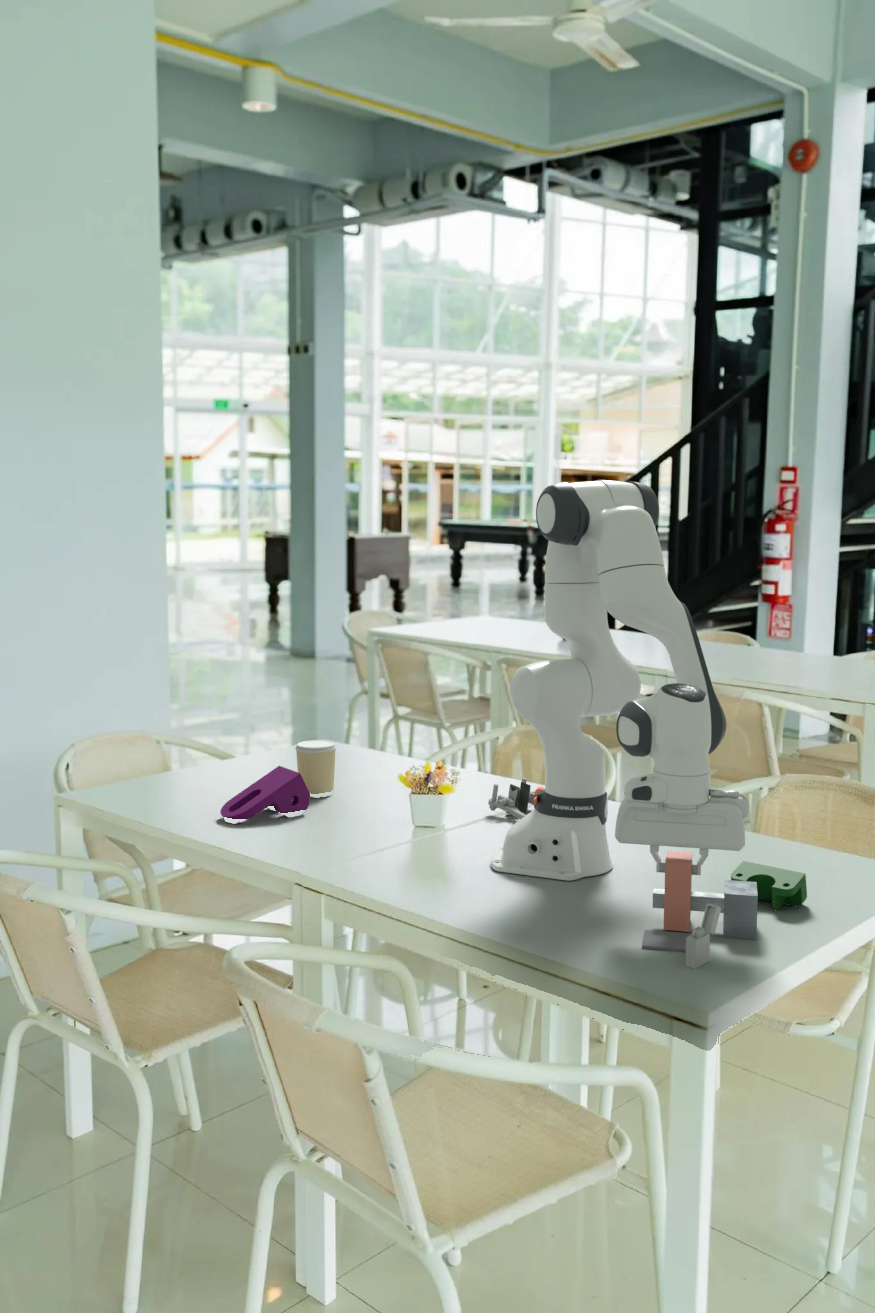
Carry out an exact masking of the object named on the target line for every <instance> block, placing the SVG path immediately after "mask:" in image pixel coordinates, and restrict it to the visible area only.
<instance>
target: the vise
mask: <svg viewBox="0 0 875 1313" xmlns="http://www.w3.org/2000/svg"><path fill="white" fill-rule="evenodd" d="M664 892H665V888H664V889H663V888H653V890H652V909H663V910H664ZM758 901H759V899H758V893H757V883H756V882H748V881H733V880H731V879H730V880H729V879H724V880H723V892H721V893H720V892H708V891H697V890H695V891H694V890H691V899H690V911H691V912H693V911H694V912H704V913H705V909H706V905H707V904H712V905H716V906H719V907H720V908H721V911H720V914H722V915H723V916H722V938H727V939H741V940H743V939H744V940H756V941H757V934H758V933H757V931H758V930H757V929H758V928H757V926H758Z"/></svg>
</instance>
